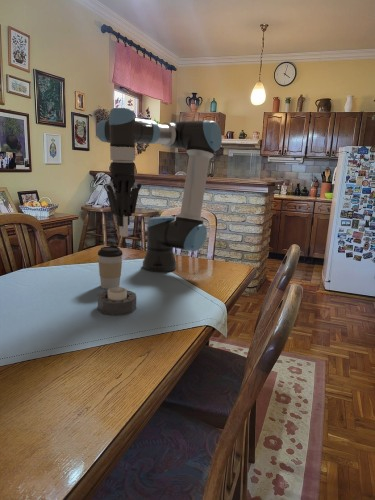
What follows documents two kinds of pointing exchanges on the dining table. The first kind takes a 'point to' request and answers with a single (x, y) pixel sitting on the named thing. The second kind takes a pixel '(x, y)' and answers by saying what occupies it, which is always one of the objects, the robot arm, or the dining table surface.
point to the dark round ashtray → (116, 304)
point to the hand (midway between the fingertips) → (123, 235)
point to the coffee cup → (110, 266)
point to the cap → (117, 293)
